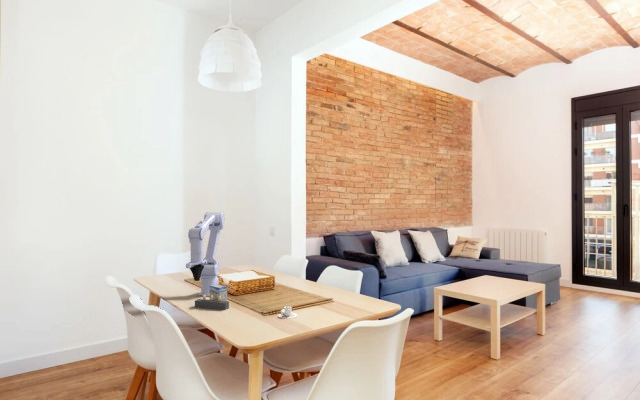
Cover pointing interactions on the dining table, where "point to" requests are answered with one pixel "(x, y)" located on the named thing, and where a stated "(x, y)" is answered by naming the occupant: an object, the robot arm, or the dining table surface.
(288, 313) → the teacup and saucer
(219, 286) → the medicine box
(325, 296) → the dining table surface
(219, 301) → the pin header
